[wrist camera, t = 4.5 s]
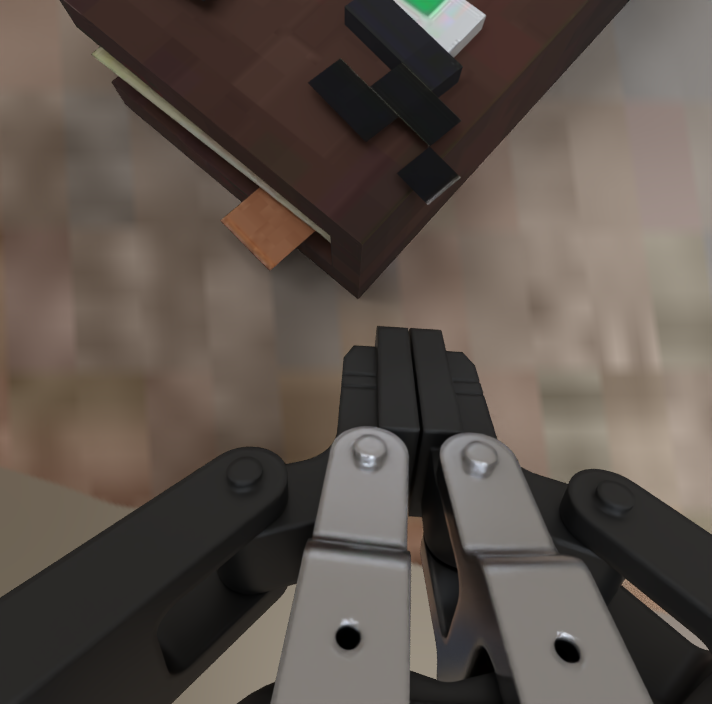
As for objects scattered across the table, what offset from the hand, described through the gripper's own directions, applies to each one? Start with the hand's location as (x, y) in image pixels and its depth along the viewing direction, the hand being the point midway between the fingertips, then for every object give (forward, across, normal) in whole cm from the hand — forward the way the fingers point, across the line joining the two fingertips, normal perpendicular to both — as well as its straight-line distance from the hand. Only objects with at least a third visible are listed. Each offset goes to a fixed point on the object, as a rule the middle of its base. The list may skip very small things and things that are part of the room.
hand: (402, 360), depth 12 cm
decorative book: (+23, 0, -6) cm, 24 cm away
